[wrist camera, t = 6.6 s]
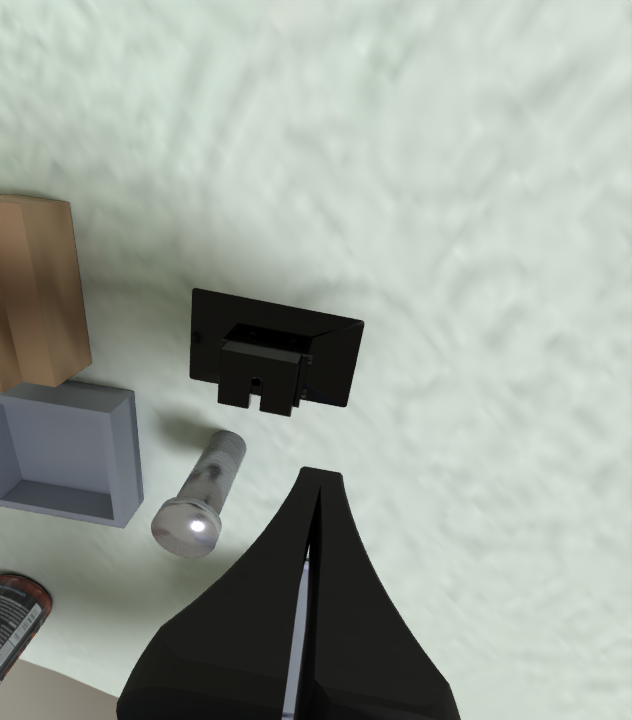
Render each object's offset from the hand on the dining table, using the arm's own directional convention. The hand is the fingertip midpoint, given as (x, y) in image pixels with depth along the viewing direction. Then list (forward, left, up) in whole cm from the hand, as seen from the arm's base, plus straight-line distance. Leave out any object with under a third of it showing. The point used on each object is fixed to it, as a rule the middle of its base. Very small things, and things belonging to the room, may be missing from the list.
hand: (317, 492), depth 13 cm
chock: (+3, +16, -9) cm, 19 cm away
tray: (-8, +16, -9) cm, 20 cm away
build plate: (+1, +4, -10) cm, 11 cm away
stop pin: (-6, +6, -9) cm, 13 cm away
